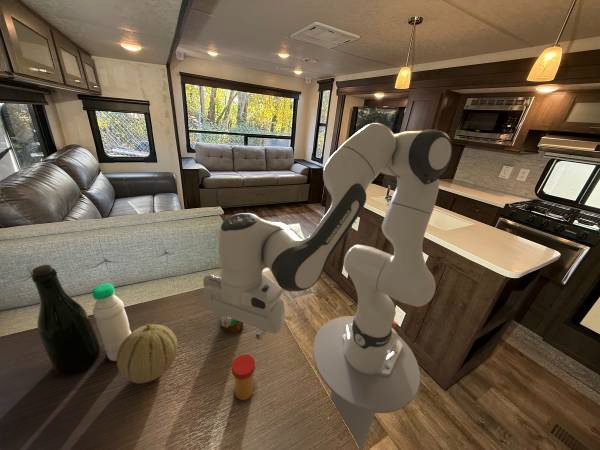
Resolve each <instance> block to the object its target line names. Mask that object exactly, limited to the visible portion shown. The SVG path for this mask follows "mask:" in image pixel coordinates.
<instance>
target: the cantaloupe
mask: <svg viewBox="0 0 600 450" xmlns="http://www.w3.org/2000/svg"><path fill="white" fill-rule="evenodd" d="M178 349H179V343H178V339H177V336H176V334H175V333H174V332H173V331H172V329H170V327H168V326H166V325H162V324H155V323H153V324H149V323H146V324H145V325H143V326H139V327H138V328H136V329H134V330H133V331H131V334H130V335H129V336H128V337H126V339H125V340H124V341H123V342H122V344H121V346H120V347H119V350H118V353H117V358H116V359H117V361H116V366H117V369H118V372H119V374H120V375H121V377H122V378H123V379H124V380H127V381H130V382H132V383H135V384H145V383H146V384H147V383H149V382H152V381H154V380H157V379H158V378H160V377H161V376H163V374H165V373H166V372H167V371H168V370H169V369H170V368H171V366H172V365H173V363H174V361H175V359H176V356H177V353H178Z"/></svg>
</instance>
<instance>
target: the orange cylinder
mask: <svg viewBox="0 0 600 450" xmlns="http://www.w3.org/2000/svg"><path fill="white" fill-rule="evenodd" d="M234 389H235V390H234V393H235V394H234V395H235V396H236V398H237V399H238V400H240V401H246V400H248V399H249V398H251V397H252V396H253V394H254V373H253V374H252V375H251V376H250V377H249V378H247V379H243V380H240V379H237V378H235V377H234Z"/></svg>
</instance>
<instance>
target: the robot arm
mask: <svg viewBox="0 0 600 450" xmlns="http://www.w3.org/2000/svg"><path fill="white" fill-rule="evenodd" d="M453 150H454V149H453V143H452V141H451V138H450V136H449V135H448V134H447V133H446V132H445V131H442V130H437V129H425V130H406V131H402V132H397V133H394V132H393V131H392V130H391V128H389V126H387V125H385V124H383V123H381V122H380V123H379V122H372V123H368V124H367V125H365V126H363V127H362V128H361V129H359V130H358V131H357V132H355V133H354V134H353V135H351V136H350V137H349V138H348V139H347V140H346V141H345V142H344V143H342V145H340V146H339V147H338V149H337V150H335V151H334V152H333V154H332V155H331V156H330V157H329V158H328V160H327V161H326V162H325V165H324V166H323V169H322V179H323V183H324V187H325V188H326V190H327V191H328V193H329V195H330V197H331V203H330V207H329V208H328V209H327V211H326V213H325V214H324V215H323V217H322V218H321V219H320V221H319V222H318V224H317V225H316V226H315V227H314V229H313V230H312V232H311V233H310V235H309V236H307V237H306V238H303V237H302V236H301V235H299V234H298V233H297V231H295V230H294V229H293V228H292V227H290V225H288V224H286V223H285V222H283V221H269V220H265V219H263V218H260V217H259V216H258V215H256V214H255V213H250V212H246V213H245V212H242V213H241V212H240V213H237V214H233V215H231V216H229V217H228V218H227V219H225V220H224V221H223V222H222V224H221V226H220V229H219V233H218V260H219V263H220V265H221V269H220V273H219V276H215V275H213V274H208V275H205V276H204V277H203V279H202V284H203V290H202V305H203V308H205V310H207V311H210V312H212V313H215V314H216V316H217V317H218V318H219V320H220V321H221V326H222V327H223V326H225V327H228V326H229V325H230V324H231V318H232V319H235V320H238V321H241V322H243V324H246V325H249V326H252V327H255V328H257V329H258V330H257V331H256V333H255V339H257V340H259V341H263V339H264V337H265V335H266V332H269V333H271V334H277V333H279V332H280V331H281V329H283V327H284V324H285V320H286V319H285V317H286V313H285V312H286V311H285V310H286V309H285V302H284V299H283V298H282V297H281V295H282V293H283V291H286V292H302V291H306V290H308V289H310V288H312V287H313V286H314V285H315V284H317V282H318V281H319V280H320V278H321V276H322V275H323V272H324V270H325V268H326V266H327V264H328V262H329V260H330V259H331V257H332V255H333V254H334V253H335V251H336V249H337V248H338V246H339V245H340V244H341V242H342V241H343V240H344V238H345V236H347V234H348V232H349V231H350V229H351V228H352V226H353V225H354V223H355V222H356V220H357V219H358V217H359V216H360V214H361V213H362V211H363V209H364V208H365V205H366V203H367V189H368V188H369V186H370V185H371V184H372V182H373V181H375V179H376V178H377V177H378V176H379V175H383V176H384V175H385V176H386V175H387V176H392V177H396V181H397V182H396V188H395V190H394V192H393V194H392V196H391V199H390V202H389V204H388V207H387V210H386V212H385V215H384V218H383V221H382V223H381V232H382V234H383V235H384V237H385V238H386V239H387V240H388V242H389V243H391V244H392V247H393V252H394V253H393V254H391V253H388V252H387V251H386V252H385V251H383V250H381V249H378V248H377V247H373V246H368V245H363V244H359V243H358V244H355V245H352V246H351V247H350V248H349V249H348V250H347V251H346V253H345V255H344V259H343V268H344V270H345V272H346V274H347V275H348V276H349V277H350V280H351V281H352V283H353V285H354V288H355V291H356V295H357V307H356V313H355V315H354V316H355V317H354V319H353V323H352V324H350V325H349V328H348V325H347V326H346V327H347V333H346V334H344V335H343V337H342V339H343V342H344V349H343V350H344V356H345V358H346V360H347V361H348V363H349V364H350V365H351V366H352V367H353V368H354V369H356V370H358V371H359V372H362V373H365V374H371V375H373V374H380V375H383V376H389V375H390V374H391V371H392V369H393V367H394V365H395V363H396V361H397V359H398V357H399V354H400V352H401V350H402V347H403V345H402V343H401V342H400V341H399V339H398V336H399V333H398V332H397V331H396V330H395V328H396V327H397V324H398V322H396V321H395V317H396V307H395V303H394V301H393V300H392V299H394V300H396V301H398V302H399V303H402V304H406V305H410V306H413V307H416V308H419V307H423V306H425V305H427V304H429V303H430V302H431V300H432V299H433V298H434V296H435V293H436V291H437V290H436V288H437V287H436V286H437V284H436V280H435V277H434V275H433V274H432V272H431V271H430V270H429V267H428V265H427V264H426V261H425V258H424V254H423V253H424V251H423V243H424V238H425V234H426V231H427V229H428V228H427V227H428V225H429V222H430V219H431V217H432V214H433V211H434V208H435V205H436V203H437V198H438V194H439V188H440V178H441V176H442V175H443V173H444V172H445V171H446V169H447V168H448V166H449V165H450V163H451V160H452V158H453V152H454V151H453ZM264 269H269V271H270V273H271V274H272V276H273V277H274V280H275V281H276V282H275V281H274V280H272V279H270V278H269V277H268V276H266V275H265V274H264V273H263V271H264ZM387 369H388V370H387Z"/></svg>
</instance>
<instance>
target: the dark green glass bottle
mask: <svg viewBox="0 0 600 450" xmlns="http://www.w3.org/2000/svg"><path fill="white" fill-rule="evenodd" d="M31 272H32V274H31V281H32V282H33V284H34V285H35V288H36V291H37V293H38V297H39V312H38V317H37V322H36V323H37V324H36V325H37V331H38V334H39V338H40V340H41V343H42V345H43V347H44V350H45V352H46V355H47V357H48V360H49V362H50V363H51V365H52V367H53V370H54V371H55V372H56V374H57V375H59V376H67V377H68V376H73V375H77V374H79V373H81V372H83V371H85V370H87V369H88V368H90V367H91V366H92V365H94V364H95V363H96V361H97V360H98V359H99V357H100V355H101V352H102V348H101V346H100V343H99V339H98V337H97V334H96V332H95V329H94V327H93V325H92V324H93V323H92V322H91V319H90V317H89V315H88V313H87V311H86V309H85V308H84V307H83V305H81V304H80V303H79V302H77V301H76V300H75V299H74V298H72V297H71V296H70V295H69V294H68V293H67V291H66V290H65V289H64V287H63V285H62V283H61V281H60V279H59V276H58V272H57V270H56V269H55V268H53V267H52V266H51V264H43V265H38V266H36V267H34V268H33V269H32V270H31Z"/></svg>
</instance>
